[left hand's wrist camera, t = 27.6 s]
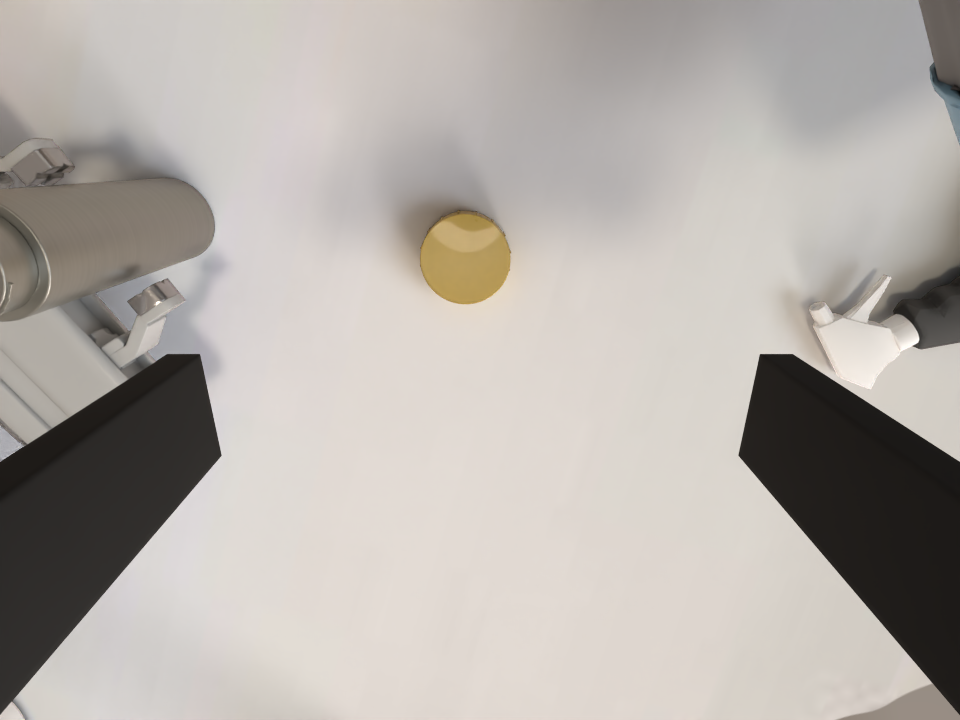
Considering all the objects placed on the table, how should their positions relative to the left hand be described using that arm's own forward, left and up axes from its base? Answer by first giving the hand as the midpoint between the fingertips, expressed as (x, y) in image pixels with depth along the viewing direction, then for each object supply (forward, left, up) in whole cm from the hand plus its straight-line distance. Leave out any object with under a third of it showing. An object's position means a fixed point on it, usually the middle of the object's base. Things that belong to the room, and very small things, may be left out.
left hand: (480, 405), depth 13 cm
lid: (+1, 0, -22) cm, 22 cm away
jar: (+10, -16, -23) cm, 30 cm away
